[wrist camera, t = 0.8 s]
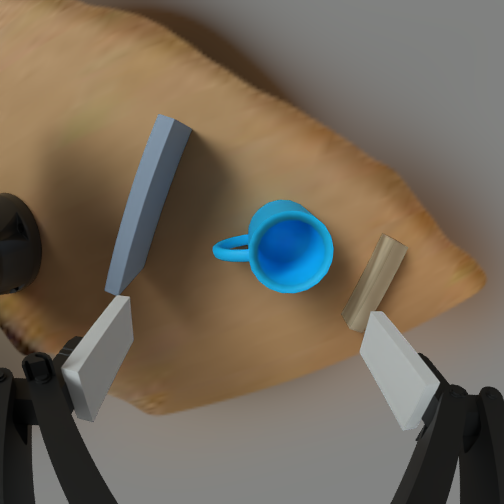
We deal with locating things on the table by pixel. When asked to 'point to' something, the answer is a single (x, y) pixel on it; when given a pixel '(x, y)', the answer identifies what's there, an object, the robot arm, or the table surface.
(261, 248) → the mug
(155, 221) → the screen
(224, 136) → the table surface
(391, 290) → the table surface
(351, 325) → the block
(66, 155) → the table surface
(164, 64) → the table surface
